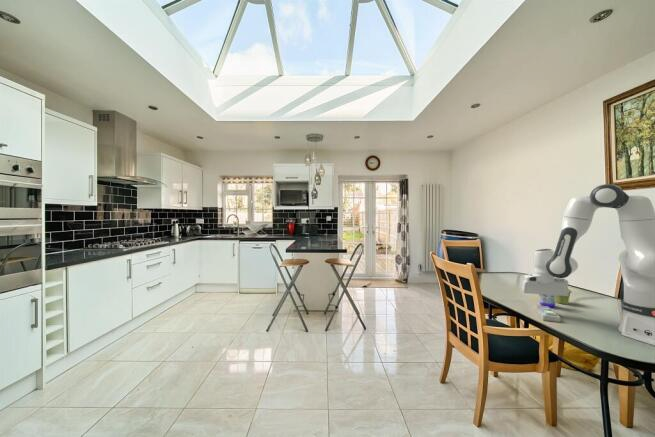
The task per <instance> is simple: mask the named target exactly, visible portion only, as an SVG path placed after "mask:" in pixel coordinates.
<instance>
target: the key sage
mask: <svg viewBox="0 0 655 437" xmlns="http://www.w3.org/2000/svg"><path fill="white" fill-rule="evenodd" d="M553 311H554V310H553ZM553 311H547V310H543V313H544V314H545V315H549V316H556V314H557V313H556V312H555V311H554V312H555V313H556V314H555V313H554V312H553Z"/></svg>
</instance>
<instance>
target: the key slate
mask: <svg viewBox="0 0 655 437" xmlns="http://www.w3.org/2000/svg"><path fill="white" fill-rule="evenodd" d="M540 310H541V311H542V312H543V310H547V311H552V310H553V309H551V307H549V308H545V307H540Z"/></svg>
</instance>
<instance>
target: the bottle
mask: <svg viewBox="0 0 655 437" xmlns="http://www.w3.org/2000/svg"><path fill="white" fill-rule="evenodd" d="M542 297H543V298H544V299H546V298H547V297H548V296H547V295H544V294H543V296H542ZM539 304H540V306H547V307H549V308H555V307H556V302H555V295H551V298H550V299H549V303H546V302H542V301H541V297H540V296H539Z"/></svg>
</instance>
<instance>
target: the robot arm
mask: <svg viewBox="0 0 655 437" xmlns="http://www.w3.org/2000/svg"><path fill="white" fill-rule="evenodd" d="M600 208H608V209H609V208H610V209H615V210H616V211H617V215H618V224H619V230H620V238H621V239H622V241H623V244H624V246H625V249H624V250H623V251H621V252H620V253H619V254H618V261H619V264H620V271H621V277H622V281H623V300H622V303H621V304H622V306H621V307H622V317H621V321H620V324H619V327H618V328H617V330H618V331H619V332H620V333H621V335H622V336H624V337H627V338H631V339H632V340H637V341H640V342H643V343H646V344H649V345H652V346H654V347H655V207H654V205H653V203H652V201H651V199H650V198H649V197H647V196H645V195H644V196H643V195H629V194H627V193H626V192H625V191H624V189H622V188H621V187H620V186H618V185H616V184H612V183H611V184H609V183H606V184H600V185H598V186H596V187H595V188H593V189H592V191H591V192H590V194H589V195H587V196H586V195H585V196H580V195H579V196H574V197H572V198H570V200H569V201H568V203H567V205H566V207H565V209H564V212H563V215H562V220H561V227H560V232H559V238H558V241H557V243H556V246H555V247H556V248H555V250H553V249H550V248H541V249H537V250H535V251H534V253H533V265H534V266H533V267H534V268H533V273H529V274H524V276H523V277H524V279H523V281H522V284H521V285H522V286H521V288H522V289H521V290H522V292H523V293H524V294H531V295H532V294H533V295H538V296H539V298H540V297H541V301H542V302H546V303H549V299H550V298H551V295H559V296H568V295H569V291H568V289H569V287H568V286H569V281H568V280H567V279H566V278H567V277H569V276H570V275H571V274H573V273H574V272H575V271H577V270H578V262H577V260H576V259H575V258H573V257H572V254H573V250H574V247H575V244H576V243H577V241H578V240H579V239H580V238H582V237H583V236H584V235H585V234H586V233H587V232H588V230H589V229H590V227H591V224H592V221H593V218H594V215H595V212H596V211H597V210H598V209H600ZM543 294H544V295H547V296H548V297H547V298H546V299H544V298H543V297H542V296H543Z"/></svg>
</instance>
